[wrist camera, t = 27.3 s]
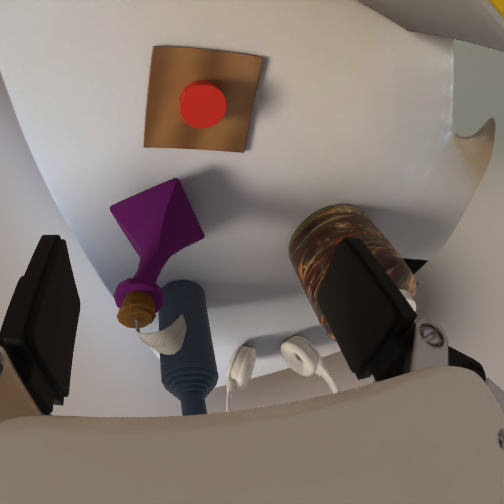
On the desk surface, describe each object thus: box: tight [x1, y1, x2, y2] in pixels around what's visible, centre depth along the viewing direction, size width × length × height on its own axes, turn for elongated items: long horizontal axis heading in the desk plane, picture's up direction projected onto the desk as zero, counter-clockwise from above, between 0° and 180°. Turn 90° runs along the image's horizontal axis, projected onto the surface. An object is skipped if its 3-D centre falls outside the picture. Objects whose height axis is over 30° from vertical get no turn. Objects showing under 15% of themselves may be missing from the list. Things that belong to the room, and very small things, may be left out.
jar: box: [289, 204, 417, 341], centre depth 35 cm, size 12×12×15 cm
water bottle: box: [159, 280, 218, 416], centre depth 35 cm, size 6×6×18 cm
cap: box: [180, 80, 227, 129], centre depth 25 cm, size 4×4×3 cm
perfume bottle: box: [110, 178, 205, 355], centre depth 26 cm, size 8×8×18 cm
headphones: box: [226, 336, 340, 412], centre depth 46 cm, size 7×18×20 cm, turn 89°
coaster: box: [144, 46, 263, 153], centre depth 26 cm, size 10×10×1 cm
